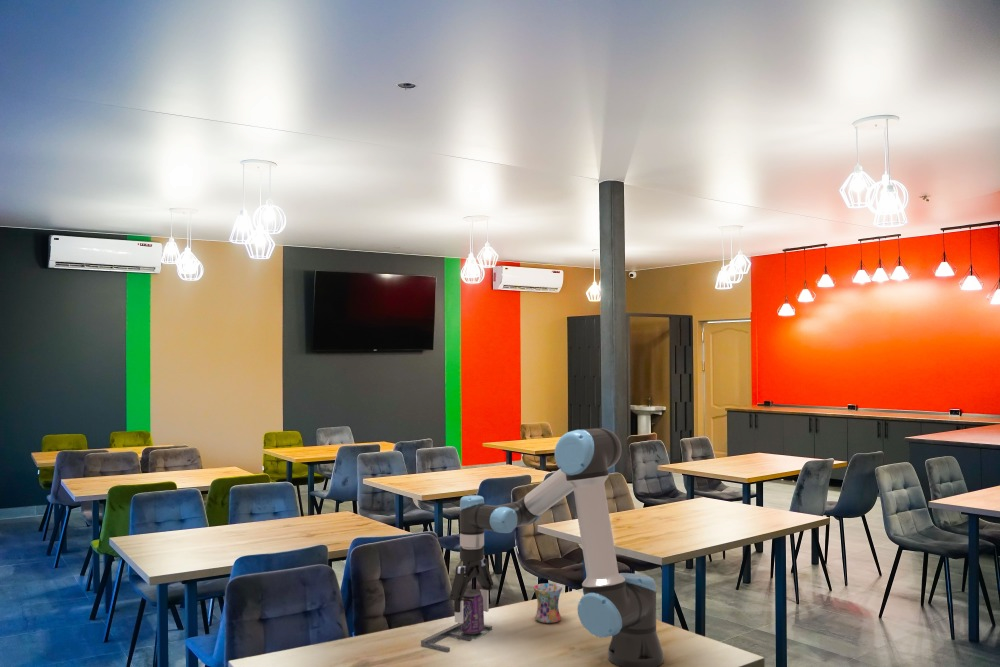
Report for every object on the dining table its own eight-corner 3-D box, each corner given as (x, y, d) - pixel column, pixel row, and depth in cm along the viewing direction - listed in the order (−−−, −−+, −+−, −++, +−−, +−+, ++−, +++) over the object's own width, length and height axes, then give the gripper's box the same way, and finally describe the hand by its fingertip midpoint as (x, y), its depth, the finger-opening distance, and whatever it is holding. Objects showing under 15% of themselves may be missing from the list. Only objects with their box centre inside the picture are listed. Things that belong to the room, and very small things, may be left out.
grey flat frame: (493, 629, 238) (493, 624, 238) (448, 652, 218) (448, 646, 218) (466, 624, 243) (466, 619, 243) (421, 646, 224) (421, 640, 224)
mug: (562, 625, 242) (562, 591, 243) (533, 625, 242) (533, 590, 243) (561, 613, 254) (561, 581, 255) (533, 613, 254) (533, 580, 255)
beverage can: (457, 630, 237) (456, 591, 237) (479, 626, 239) (477, 587, 240) (466, 637, 230) (464, 597, 230) (487, 633, 233) (486, 593, 233)
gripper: (484, 538, 249) (484, 604, 247) (437, 553, 228) (437, 625, 226) (503, 540, 245) (504, 608, 243) (458, 556, 224) (458, 630, 222)
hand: (472, 616), depth 235 cm, fingers open, 13 cm apart
